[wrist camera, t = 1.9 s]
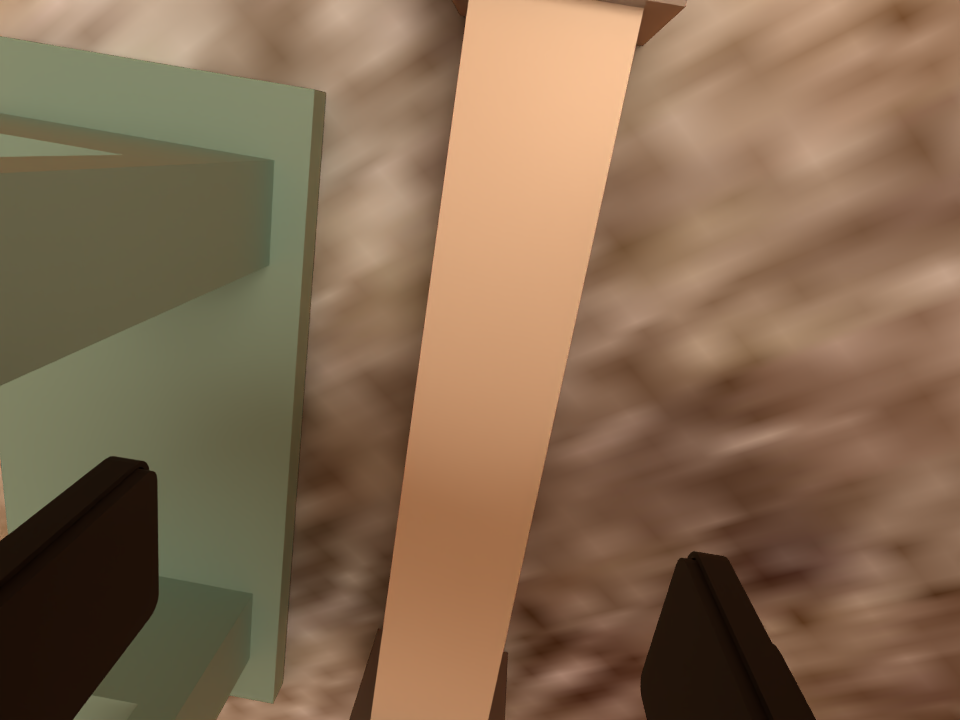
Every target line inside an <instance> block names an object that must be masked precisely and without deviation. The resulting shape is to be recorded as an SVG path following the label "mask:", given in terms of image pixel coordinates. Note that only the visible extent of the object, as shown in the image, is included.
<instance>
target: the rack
mask: <svg viewBox="0 0 960 720" xmlns="http://www.w3.org/2000/svg"><path fill="white" fill-rule="evenodd" d="M325 100H326V93H325V92H322V91H318V90H314V89H308V88H302V87H296V86H290V85H284V84H278V83H273V82H267V81H261V80H255V79H249V78H243V77H237V76H231V75H225V74H219V73H214V72H208V71H202V70H196V69H190V68H184V67H178V66H172V65H166V64H160V63H155V62H149V61H143V60H137V59H131V58H125V57H119V56H113V55H107V54H102V53H96V52H90V51H84V50H78V49H72V48H66V47H60V46H54V45H48V44H43V43H37V42H31V41H25V40H19V39H13V38H7V37H1V36H0V460H1V470H2V480H3V489H4V499H5V508H6V518H7V528H8V535H9V534H10V533H11V532H12V531H14V530H15V529H16V528H18V527H19V526H20V525H21V524H23V523H24V522H25V521H26V520H28V519H29V518H30V517H32V516H33V515H34V514H35V513H37V512H38V511H39V510H41V509H42V508H43V507H44V506H46V505H47V504H48V503H50V502H51V501H52V500H53V499H55V498H56V497H57V496H58V495H60V494H61V493H62V492H64V491H65V490H66V489H67V488H69V487H70V486H71V485H73V484H74V483H75V482H76V481H78V480H79V479H80V478H81V477H83V476H84V475H85V474H87V473H88V472H89V471H90V470H92V469H93V468H94V467H96V466H97V465H98V464H99V463H101V462H102V461H103V460H105V459H106V458H108V457H110V456H117V457H123V458H129V459H135V460H141V461H145V462H146V463H147V464H148V466H149V470H150V471H154V472H156V475H157V480H158V558H159V598H158V602H157V605H156V608H155V610H154V612H153V614H152V616H151V617H150V619H149V620H148V621H147V623H146V624H145V625H144V627H143V628H142V629H141V631H140V632H139V633H138V634H137V636H136V637H135V638H134V640H133V641H132V642H131V644H130V645H129V646H128V648H127V649H126V650H125V652H124V653H123V654H122V656H121V657H120V658H119V660H118V661H117V662H116V664H115V665H114V666H113V667H112V669H111V670H110V671H109V673H108V674H107V675H106V677H105V678H104V679H103V681H102V682H101V683H100V685H99V686H98V687H97V689H96V690H95V691H94V693H93V694H92V695H91V697H90V698H89V699H88V701H87V702H86V703H85V704H84V706H83V707H82V708H81V710H80V711H79V712H78V714H77V715H76V716H75V718H74V719H73V720H216V719H217V717H218V715H219V714H220V712H221V710H222V708H223V706H224V704H225V703H226V701H227V699H228V697H229V695H230V696H235V697H241V698H246V699H251V700H256V701H262V702H267V703H272V704H273V703H274V701H275V699H276V697H277V694H278V692H279V690H280V688H281V686H282V684H283V674H284V661H285V647H286V633H287V620H288V606H289V592H290V579H291V565H292V551H293V538H294V524H295V510H296V496H297V483H298V469H299V455H300V442H301V428H302V414H303V401H304V387H305V373H306V360H307V346H308V332H309V319H310V305H311V291H312V278H313V264H314V250H315V237H316V223H317V209H318V196H319V182H320V168H321V155H322V141H323V127H324V114H325Z"/></svg>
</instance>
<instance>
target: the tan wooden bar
mask: <svg viewBox="0 0 960 720" xmlns="http://www.w3.org/2000/svg"><path fill="white" fill-rule="evenodd" d="M452 1H453V3H454V5H455V7H456V9H457V11H458V12H459V14H460V16H466V23H465V31H464V38H463V45H462V53H461V60H460V67H459V75H458V82H457V89H456V97H455V104H454V111H453V119H452V126H451V133H450V141H449V148H448V155H447V163H446V170H445V177H444V185H443V192H442V199H441V207H440V214H439V221H438V229H437V236H436V243H435V251H434V258H433V265H432V273H431V280H430V287H429V295H428V302H427V309H426V317H425V324H424V331H423V339H422V346H421V353H420V361H419V368H418V375H417V383H416V390H415V397H414V405H413V412H412V419H411V426H410V434H409V441H408V448H407V456H406V463H405V470H404V478H403V485H402V492H401V500H400V507H399V514H398V522H397V529H396V536H395V544H394V551H393V558H392V566H391V573H390V580H389V588H388V595H387V602H386V610H385V617H384V624H383V629H378V631H377V635H376V638H375V641H374V644H373V647H372V650H371V653H370V657H369V660H368V663H367V666H366V669H365V672H364V675H363V679H362V682H361V685H360V688H359V691H358V694H357V697H356V701H355V704H354V707H353V710H352V713H351V716H350V719H349V720H505V703H506V682H507V660H508V653H507V652H503V650H504V645H505V640H506V636H507V631H508V627H509V622H510V618H511V613H512V608H513V604H514V599H515V595H516V590H517V586H518V581H519V576H520V572H521V567H522V563H523V558H524V554H525V549H526V544H527V540H528V535H529V531H530V526H531V522H532V517H533V512H534V508H535V503H536V499H537V494H538V490H539V485H540V481H541V476H542V471H543V467H544V462H545V458H546V453H547V449H548V444H549V439H550V435H551V430H552V426H553V421H554V417H555V412H556V407H557V403H558V398H559V394H560V389H561V385H562V380H563V375H564V371H565V366H566V362H567V357H568V353H569V348H570V343H571V339H572V334H573V330H574V325H575V321H576V316H577V311H578V307H579V302H580V298H581V293H582V289H583V284H584V279H585V275H586V270H587V266H588V261H589V257H590V252H591V247H592V243H593V238H594V234H595V229H596V225H597V220H598V216H599V211H600V206H601V202H602V197H603V193H604V188H605V184H606V179H607V174H608V170H609V165H610V161H611V156H612V152H613V147H614V142H615V138H616V133H617V129H618V124H619V120H620V115H621V110H622V106H623V101H624V97H625V92H626V88H627V83H628V78H629V74H630V69H631V65H632V60H633V56H634V51H635V46H636V45H640V46H643V45H644V44H645V43H646V42H648V41H649V40H650V39H651V38H652V37H653V36H654V35H655V34H656V33H657V32H658V31H659V30H661V29H662V28H663V27H664V26H665V25H666V24H667V23H668V22H669V21H670V20H671V19H673V18H674V17H675V16H676V15H677V14H678V13H679V12H680V11H681V10H682V9H683V8H685V7H686V3H687V0H452Z"/></svg>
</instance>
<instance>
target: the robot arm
mask: <svg viewBox="0 0 960 720" xmlns="http://www.w3.org/2000/svg"><path fill="white" fill-rule="evenodd" d="M158 598H159V558H158V480H157V475H156V472H154V471H150V470H149V466H148V464H147V463H146V462H145V461H141V460H135V459H129V458H123V457H117V456H110V457H108V458H106V459H105V460H103V461H102V462H101V463H99V464H98V465H97V466H96V467H94V468H93V469H92V470H90V471H89V472H88V473H87V474H85V475H84V476H83V477H81V478H80V479H79V480H78V481H76V482H75V483H74V484H73V485H71V486H70V487H69V488H67V489H66V490H65V491H64V492H62V493H61V494H60V495H58V496H57V497H56V498H55V499H53V500H52V501H51V502H50V503H48V504H47V505H46V506H44V507H43V508H42V509H41V510H39V511H38V512H37V513H35V514H34V515H33V516H32V517H30V518H29V519H28V520H26V521H25V522H24V523H23V524H21V525H20V526H19V527H18V528H16V529H15V530H14V531H12V532H11V533H10V534H9V535H7V536H6V537H5V538H3V539H2V540H1V541H0V720H73V719H74V718H75V716H76V715H77V714H78V712H79V711H80V710H81V708H82V707H83V706H84V704H85V703H86V702H87V701H88V699H89V698H90V697H91V695H92V694H93V693H94V691H95V690H96V689H97V687H98V686H99V685H100V683H101V682H102V681H103V679H104V678H105V677H106V675H107V674H108V673H109V671H110V670H111V669H112V667H113V666H114V665H115V664H116V662H117V661H118V660H119V658H120V657H121V656H122V654H123V653H124V652H125V650H126V649H127V648H128V646H129V645H130V644H131V642H132V641H133V640H134V638H135V637H136V636H137V634H138V633H139V632H140V631H141V629H142V628H143V627H144V625H145V624H146V623H147V621H148V620H149V619H150V617H151V616H152V614H153V612H154V610H155V608H156V605H157V602H158ZM641 696H642V700H643V705H644V709H645V713H646V717H647V720H816V719H815V717H814V715H813V713H812V711H811V709H810V707H809V706H808V704H807V702H806V700H805V698H804V696H803V694H802V692H801V690H800V689H799V687H798V685H797V683H796V681H795V679H794V677H793V675H792V673H791V672H790V670H789V668H788V666H787V664H786V662H785V660H784V658H783V657H782V655H781V653H780V651H779V650H778V649H777V647H776V646H775V645H774V644H772V642H771V640H770V638H769V636H768V634H767V632H766V631H765V629H764V627H763V625H762V623H761V621H760V619H759V617H758V615H757V613H756V611H755V610H754V608H753V606H752V604H751V602H750V600H749V598H748V596H747V594H746V592H745V590H744V589H743V587H742V585H741V583H740V581H739V579H738V577H737V575H736V573H735V571H734V569H733V567H732V566H731V564H730V562H729V560H728V559H727V558H726V557H724V556H719V555H713V554H707V553H701V552H695V551H693V552H691V553H690V554H689V556H688V558H687V559H686V558H680V559H679V560H678V562H677V564H676V567H675V570H674V573H673V577H672V580H671V583H670V586H669V589H668V592H667V595H666V599H665V602H664V605H663V608H662V611H661V614H660V617H659V621H658V624H657V627H656V630H655V633H654V636H653V639H652V643H651V646H650V649H649V652H648V655H647V658H646V661H645V665H644V668H643V671H642V675H641Z"/></svg>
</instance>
